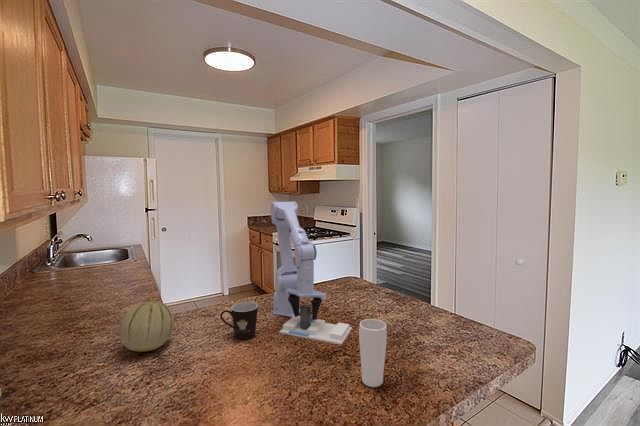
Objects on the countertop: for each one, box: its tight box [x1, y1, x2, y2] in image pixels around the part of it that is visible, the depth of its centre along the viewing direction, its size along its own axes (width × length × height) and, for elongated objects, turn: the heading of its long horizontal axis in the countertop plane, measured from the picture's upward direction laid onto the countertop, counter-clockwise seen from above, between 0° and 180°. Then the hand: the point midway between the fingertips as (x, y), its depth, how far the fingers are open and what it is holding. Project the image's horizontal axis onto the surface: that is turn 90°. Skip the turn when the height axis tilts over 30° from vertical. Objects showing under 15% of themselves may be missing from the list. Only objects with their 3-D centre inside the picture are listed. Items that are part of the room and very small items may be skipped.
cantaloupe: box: [118, 297, 175, 353], centre depth 95 cm, size 15×15×15 cm
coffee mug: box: [219, 301, 259, 342], centre depth 104 cm, size 12×9×10 cm
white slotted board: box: [279, 315, 353, 345], centre depth 107 cm, size 22×12×2 cm, turn 68°
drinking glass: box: [358, 318, 388, 388], centre depth 78 cm, size 7×7×15 cm
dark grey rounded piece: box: [299, 304, 312, 330], centre depth 111 cm, size 4×10×8 cm, turn 158°
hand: (305, 317), depth 108 cm, fingers open, 6 cm apart
